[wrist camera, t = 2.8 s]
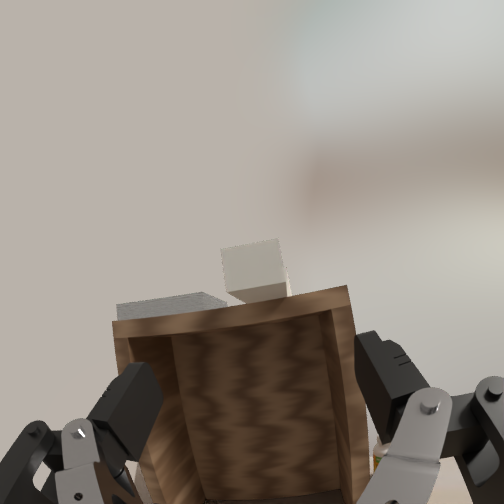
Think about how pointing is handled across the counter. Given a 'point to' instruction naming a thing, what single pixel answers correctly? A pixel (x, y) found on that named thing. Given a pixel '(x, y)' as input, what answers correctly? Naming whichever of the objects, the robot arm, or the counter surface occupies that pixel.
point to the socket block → (168, 306)
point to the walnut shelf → (253, 400)
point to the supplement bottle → (379, 451)
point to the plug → (255, 272)
